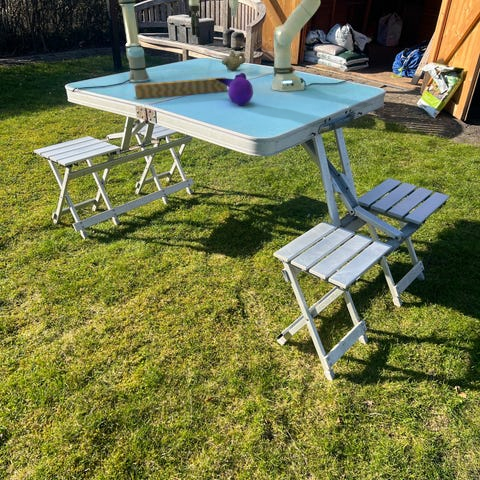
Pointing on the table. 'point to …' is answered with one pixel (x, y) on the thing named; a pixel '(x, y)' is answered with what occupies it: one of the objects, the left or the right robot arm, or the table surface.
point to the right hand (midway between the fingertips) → (234, 16)
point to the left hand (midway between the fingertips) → (195, 36)
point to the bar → (179, 88)
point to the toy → (238, 89)
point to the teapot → (233, 61)
